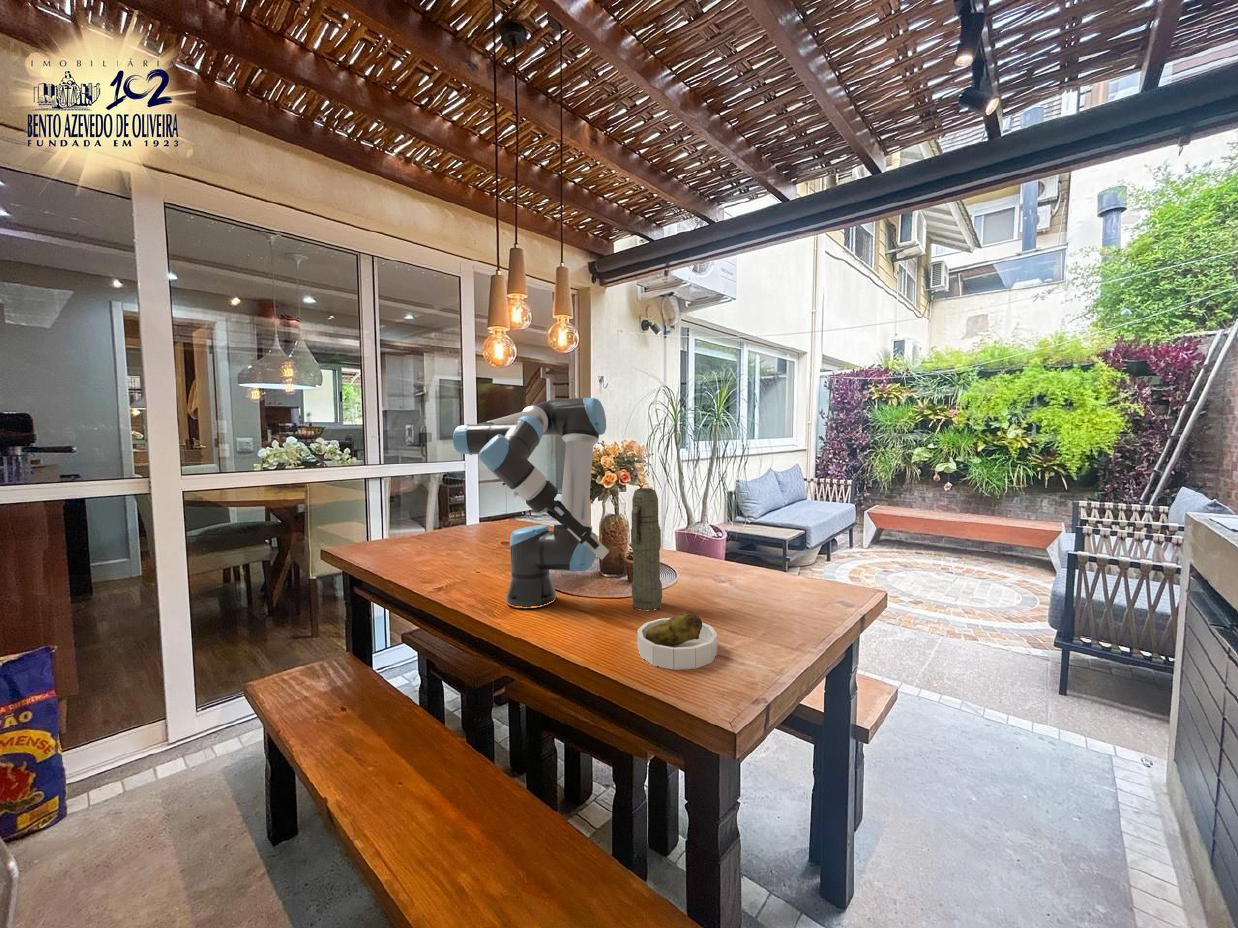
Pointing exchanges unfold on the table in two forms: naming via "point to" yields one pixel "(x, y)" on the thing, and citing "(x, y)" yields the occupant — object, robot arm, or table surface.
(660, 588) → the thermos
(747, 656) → the table surface
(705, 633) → the bowl
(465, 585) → the table surface
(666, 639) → the potato
